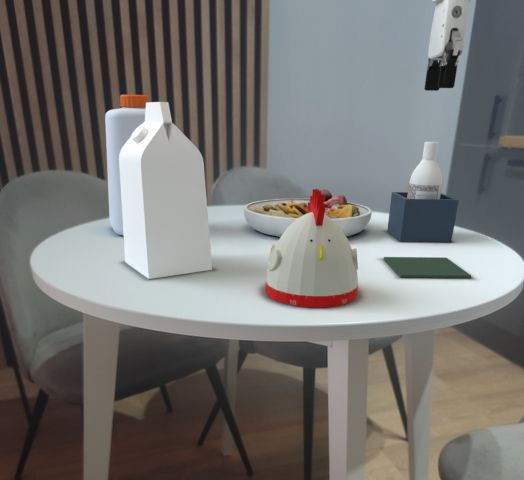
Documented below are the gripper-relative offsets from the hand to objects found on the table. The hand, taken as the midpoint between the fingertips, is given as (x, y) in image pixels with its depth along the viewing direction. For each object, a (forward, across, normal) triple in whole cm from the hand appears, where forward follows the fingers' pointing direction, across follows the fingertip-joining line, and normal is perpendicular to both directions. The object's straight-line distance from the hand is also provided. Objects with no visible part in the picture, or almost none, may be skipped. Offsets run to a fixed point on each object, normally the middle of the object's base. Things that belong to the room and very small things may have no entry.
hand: (438, 89), depth 107 cm
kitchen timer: (+31, -49, +30) cm, 65 cm away
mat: (+30, -34, +8) cm, 46 cm away
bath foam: (+31, -7, +2) cm, 31 cm away
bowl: (+31, -1, +27) cm, 41 cm away
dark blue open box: (+30, -7, +2) cm, 31 cm away
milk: (+31, -35, +54) cm, 71 cm away
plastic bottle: (+31, -5, +65) cm, 72 cm away
